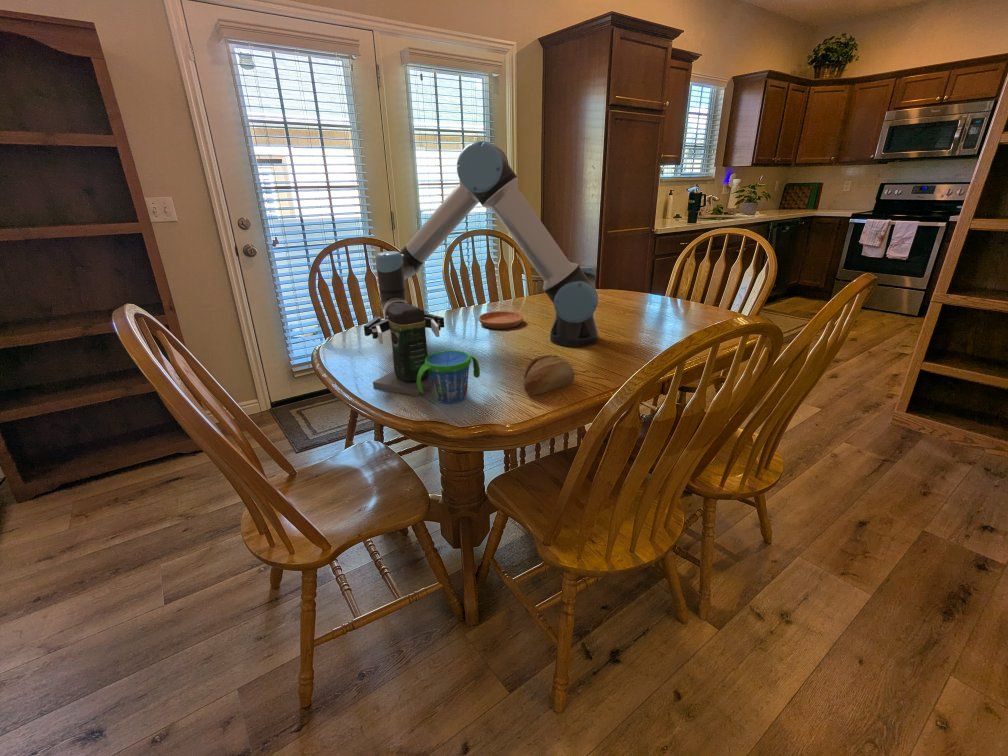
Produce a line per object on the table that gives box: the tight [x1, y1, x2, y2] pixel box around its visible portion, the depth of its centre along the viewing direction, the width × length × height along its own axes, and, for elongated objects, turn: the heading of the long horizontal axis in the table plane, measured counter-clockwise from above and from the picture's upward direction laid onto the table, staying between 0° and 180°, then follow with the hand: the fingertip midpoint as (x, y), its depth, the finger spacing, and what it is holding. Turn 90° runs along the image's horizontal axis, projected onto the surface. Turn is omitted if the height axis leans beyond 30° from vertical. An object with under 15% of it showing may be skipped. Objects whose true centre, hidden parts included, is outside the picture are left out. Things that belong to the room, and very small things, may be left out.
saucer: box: [478, 310, 524, 330], centre depth 169 cm, size 16×16×3 cm
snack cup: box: [417, 349, 481, 404], centre depth 109 cm, size 16×10×10 cm
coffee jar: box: [388, 302, 429, 382], centre depth 117 cm, size 10×8×19 cm
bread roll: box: [522, 354, 575, 396], centre depth 114 cm, size 10×15×8 cm, turn 131°
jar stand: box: [372, 370, 433, 397], centre depth 120 cm, size 14×14×2 cm
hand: (409, 334), depth 113 cm, fingers open, 13 cm apart
